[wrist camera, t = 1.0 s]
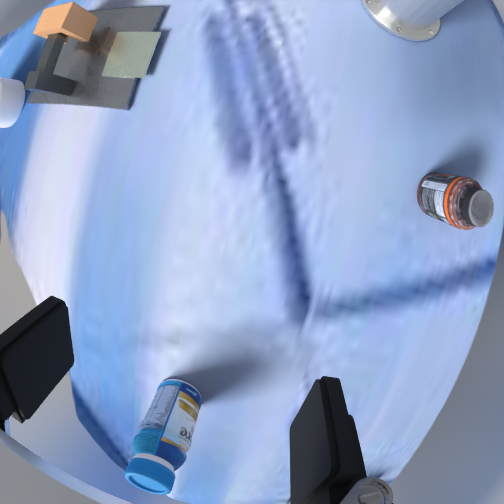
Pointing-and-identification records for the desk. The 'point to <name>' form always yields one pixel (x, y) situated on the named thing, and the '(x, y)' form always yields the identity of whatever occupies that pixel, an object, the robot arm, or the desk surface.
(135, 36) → the stand
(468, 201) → the supplement bottle
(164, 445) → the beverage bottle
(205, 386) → the desk surface
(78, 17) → the orange staple
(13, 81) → the cylinder with rectangular tab
